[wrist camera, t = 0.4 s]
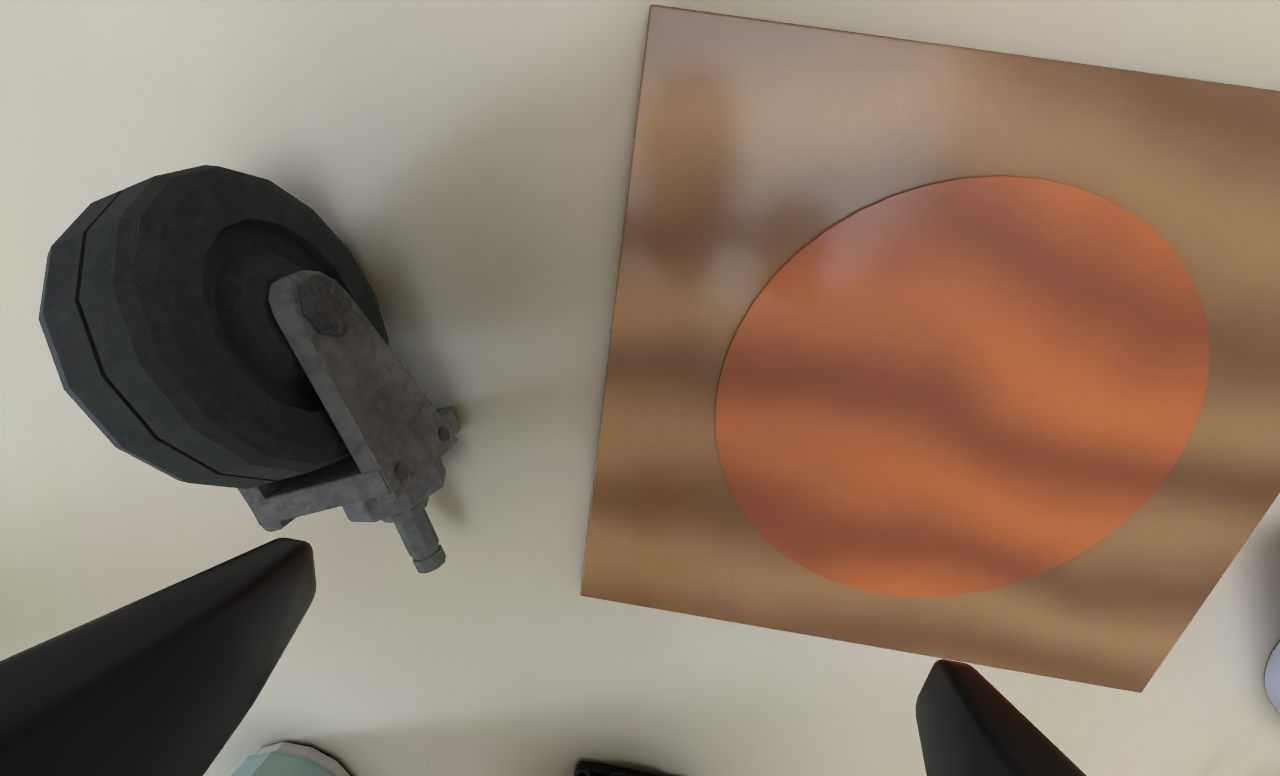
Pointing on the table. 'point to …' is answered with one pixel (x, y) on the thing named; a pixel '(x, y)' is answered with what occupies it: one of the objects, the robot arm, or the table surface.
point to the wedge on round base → (1273, 678)
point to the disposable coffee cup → (289, 762)
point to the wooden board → (938, 346)
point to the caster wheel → (243, 353)
